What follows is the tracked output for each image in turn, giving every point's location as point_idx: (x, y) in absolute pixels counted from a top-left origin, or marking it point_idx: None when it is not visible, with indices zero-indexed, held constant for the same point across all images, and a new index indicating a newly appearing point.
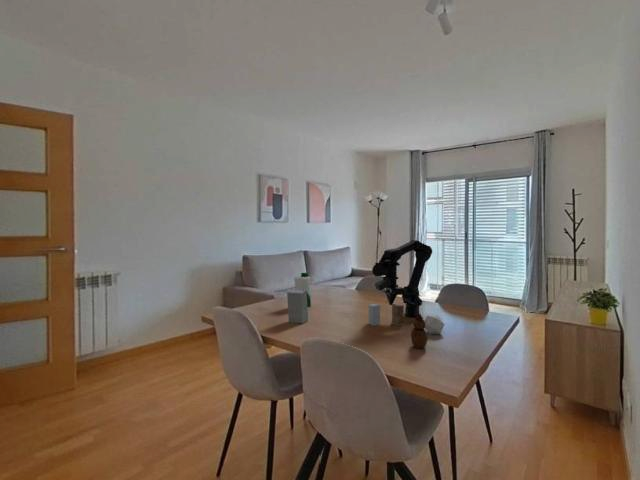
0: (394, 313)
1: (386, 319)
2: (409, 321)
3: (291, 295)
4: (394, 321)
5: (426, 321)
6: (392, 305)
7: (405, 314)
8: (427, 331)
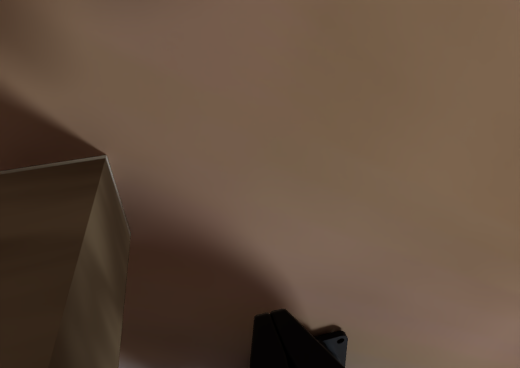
0: (2, 253)
1: (271, 150)
2: (146, 322)
3: None
4: (38, 181)
5: None
6: (39, 355)
7: (325, 338)
8: None
